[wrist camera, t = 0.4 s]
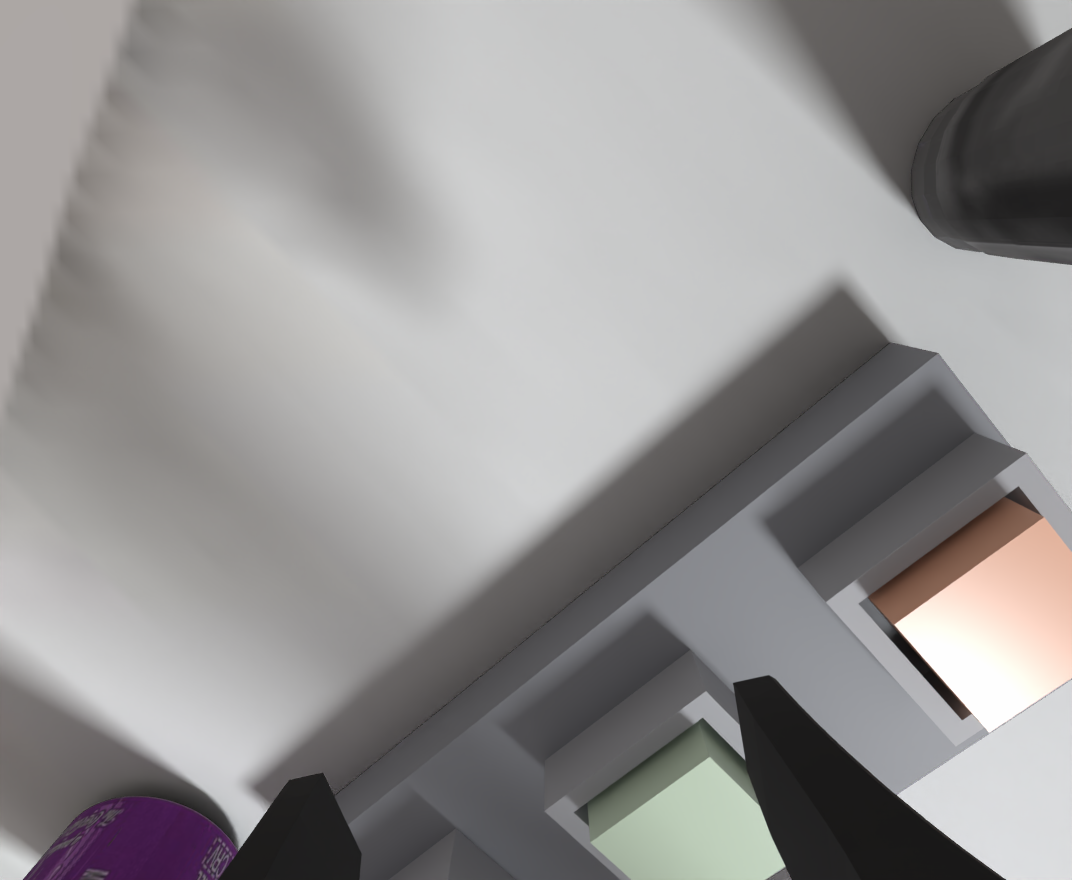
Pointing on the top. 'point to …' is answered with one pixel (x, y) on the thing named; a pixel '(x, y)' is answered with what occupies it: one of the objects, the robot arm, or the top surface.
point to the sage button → (685, 815)
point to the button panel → (714, 637)
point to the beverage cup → (1004, 161)
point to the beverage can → (137, 844)
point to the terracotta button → (990, 611)
